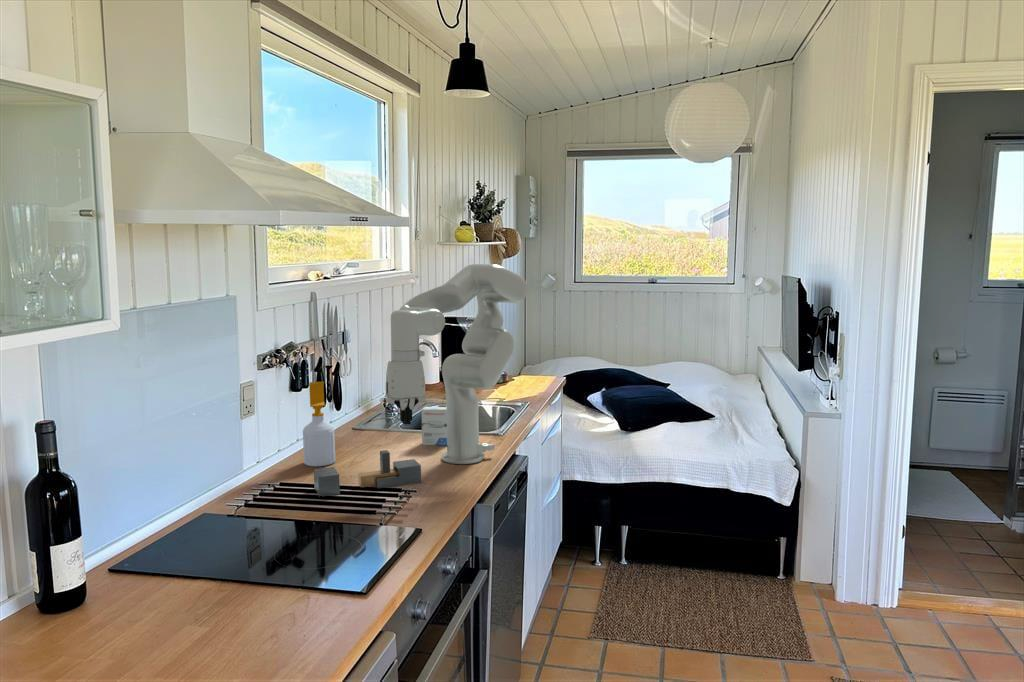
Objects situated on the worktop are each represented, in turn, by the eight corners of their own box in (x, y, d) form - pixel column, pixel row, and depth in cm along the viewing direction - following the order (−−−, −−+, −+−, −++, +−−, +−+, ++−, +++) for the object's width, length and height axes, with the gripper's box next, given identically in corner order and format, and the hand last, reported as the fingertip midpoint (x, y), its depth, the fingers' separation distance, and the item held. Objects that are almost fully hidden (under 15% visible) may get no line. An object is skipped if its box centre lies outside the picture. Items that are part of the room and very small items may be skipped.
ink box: (451, 441, 253) (450, 406, 251) (448, 446, 248) (447, 409, 246) (425, 441, 253) (424, 405, 252) (421, 445, 249) (421, 409, 247)
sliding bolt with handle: (416, 476, 215) (415, 446, 214) (419, 479, 212) (418, 449, 211) (358, 484, 209) (357, 453, 208) (361, 487, 206) (360, 456, 205)
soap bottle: (304, 468, 225) (300, 384, 222) (304, 459, 234) (300, 379, 230) (336, 465, 227) (332, 382, 224) (334, 457, 236) (331, 377, 233)
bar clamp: (414, 475, 217) (413, 457, 217) (421, 482, 210) (421, 464, 210) (314, 488, 207) (313, 469, 206) (319, 496, 200) (318, 477, 199)
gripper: (428, 353, 215) (428, 418, 217) (374, 355, 209) (375, 423, 211) (436, 356, 208) (436, 424, 210) (381, 359, 202) (382, 428, 204)
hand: (406, 423), depth 210 cm, fingers closed
